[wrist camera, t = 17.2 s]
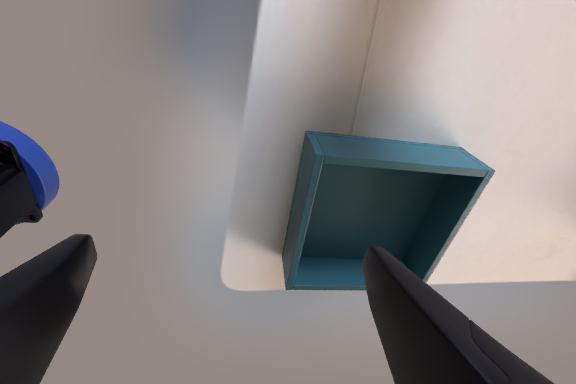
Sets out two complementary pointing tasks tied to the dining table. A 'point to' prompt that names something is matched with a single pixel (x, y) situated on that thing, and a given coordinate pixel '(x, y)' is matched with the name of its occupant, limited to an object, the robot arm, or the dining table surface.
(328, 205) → the bin
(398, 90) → the dining table surface
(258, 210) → the dining table surface
